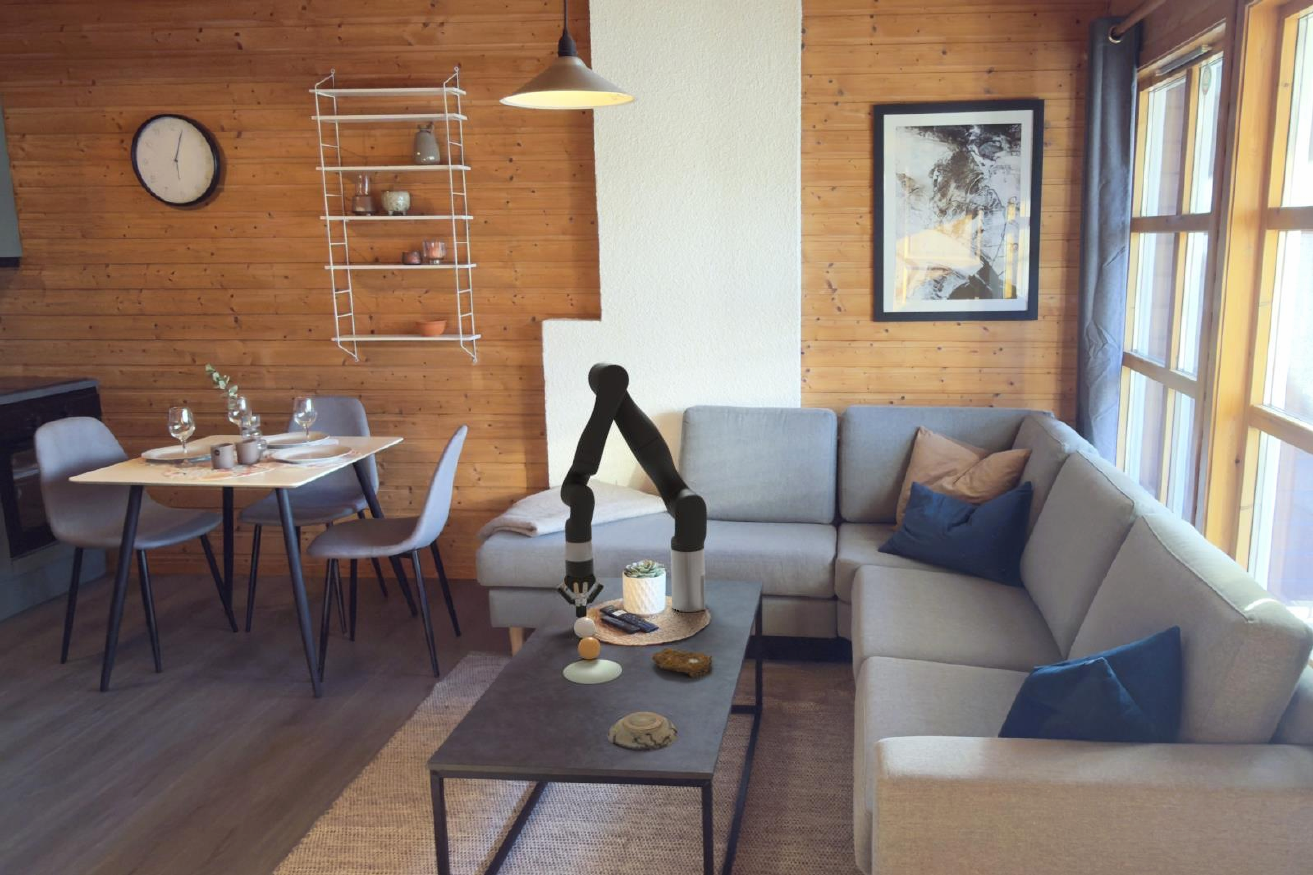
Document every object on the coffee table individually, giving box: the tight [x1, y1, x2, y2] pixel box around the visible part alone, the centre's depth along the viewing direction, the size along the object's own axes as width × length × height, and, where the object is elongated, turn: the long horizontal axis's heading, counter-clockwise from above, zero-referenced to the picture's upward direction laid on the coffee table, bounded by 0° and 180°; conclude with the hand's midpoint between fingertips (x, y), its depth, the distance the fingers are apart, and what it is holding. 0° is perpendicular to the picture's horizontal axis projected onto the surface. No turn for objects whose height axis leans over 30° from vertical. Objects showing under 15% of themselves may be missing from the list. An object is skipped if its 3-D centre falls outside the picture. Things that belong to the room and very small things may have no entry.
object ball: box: [577, 636, 601, 660], centre depth 259 cm, size 6×6×6 cm
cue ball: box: [573, 616, 596, 639], centre depth 272 cm, size 6×6×6 cm
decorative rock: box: [651, 647, 713, 678], centre depth 252 cm, size 11×4×15 cm
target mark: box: [562, 658, 623, 685], centre depth 251 cm, size 14×14×1 cm
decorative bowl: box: [606, 711, 678, 752], centre depth 219 cm, size 15×4×15 cm
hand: (581, 618), depth 282 cm, fingers closed
